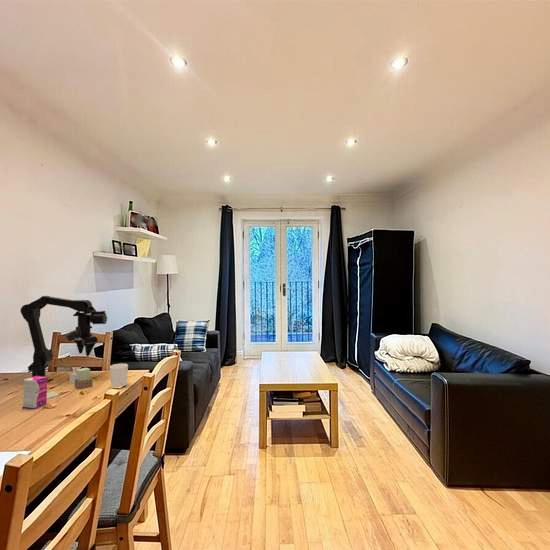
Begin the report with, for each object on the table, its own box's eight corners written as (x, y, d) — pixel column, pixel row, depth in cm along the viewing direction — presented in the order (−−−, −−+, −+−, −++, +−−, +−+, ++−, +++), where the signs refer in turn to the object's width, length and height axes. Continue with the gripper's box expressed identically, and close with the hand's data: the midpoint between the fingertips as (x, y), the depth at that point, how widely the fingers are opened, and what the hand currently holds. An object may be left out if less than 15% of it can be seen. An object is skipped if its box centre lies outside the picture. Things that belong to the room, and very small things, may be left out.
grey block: (69, 382, 164) (69, 373, 164) (78, 380, 168) (78, 371, 168) (75, 383, 162) (75, 374, 162) (84, 381, 167) (84, 372, 167)
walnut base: (74, 387, 158) (74, 378, 158) (88, 384, 162) (88, 376, 162) (78, 390, 153) (78, 381, 153) (92, 387, 158) (92, 378, 158)
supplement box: (34, 409, 130) (34, 380, 130) (22, 408, 131) (22, 379, 132) (47, 404, 136) (47, 376, 136) (35, 403, 137) (35, 375, 137)
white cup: (131, 384, 160) (131, 364, 160) (119, 390, 153) (119, 368, 153) (118, 383, 163) (118, 363, 163) (105, 388, 155) (105, 367, 155)
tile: (36, 396, 144) (36, 395, 144) (54, 392, 150) (54, 391, 150) (41, 400, 140) (41, 399, 140) (59, 395, 145) (59, 395, 145)
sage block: (76, 378, 158) (76, 369, 158) (86, 376, 161) (86, 367, 161) (79, 380, 155) (79, 371, 155) (90, 378, 158) (90, 369, 158)
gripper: (60, 324, 170) (59, 354, 170) (73, 328, 158) (73, 360, 158) (83, 322, 178) (83, 351, 178) (98, 325, 166) (98, 356, 166)
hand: (84, 354), depth 170 cm, fingers open, 9 cm apart
